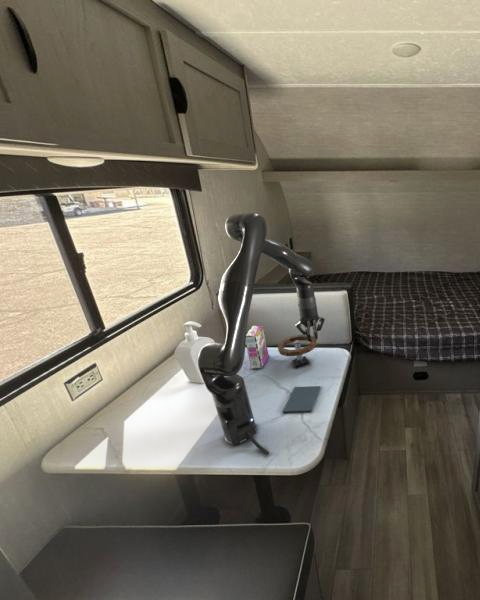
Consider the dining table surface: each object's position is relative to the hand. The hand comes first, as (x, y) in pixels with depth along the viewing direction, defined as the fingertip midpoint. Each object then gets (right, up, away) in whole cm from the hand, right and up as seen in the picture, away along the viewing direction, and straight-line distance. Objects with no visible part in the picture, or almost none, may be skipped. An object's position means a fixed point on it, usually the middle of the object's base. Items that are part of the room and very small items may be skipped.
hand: (312, 340), depth 141 cm
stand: (-6, -10, 0) cm, 12 cm away
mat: (+3, -19, -24) cm, 31 cm away
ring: (-6, -3, -3) cm, 7 cm away
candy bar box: (-25, -11, +2) cm, 27 cm away
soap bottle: (-44, -15, -7) cm, 47 cm away
